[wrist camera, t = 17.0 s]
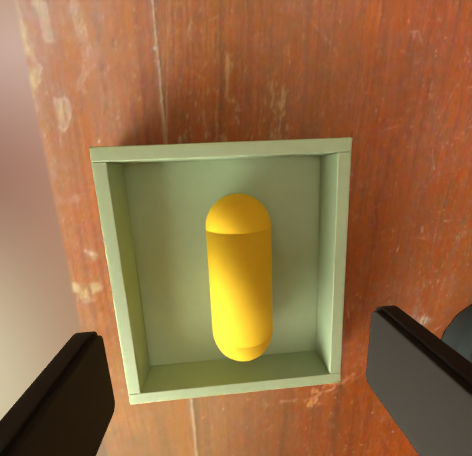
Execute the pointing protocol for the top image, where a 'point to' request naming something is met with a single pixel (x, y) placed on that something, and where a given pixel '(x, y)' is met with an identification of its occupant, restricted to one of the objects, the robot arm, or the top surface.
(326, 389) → the top surface
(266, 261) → the yellow capsule toy
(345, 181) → the tray
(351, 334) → the top surface
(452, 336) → the mug
